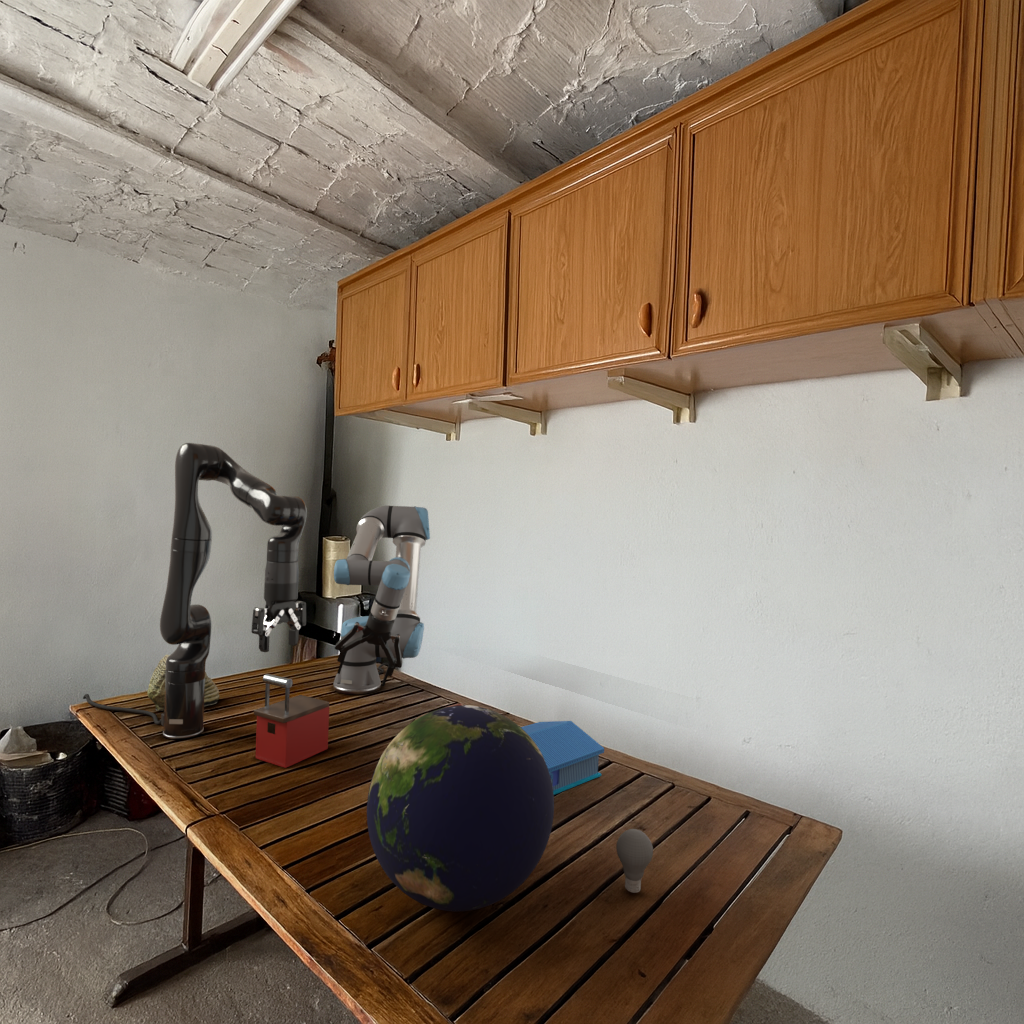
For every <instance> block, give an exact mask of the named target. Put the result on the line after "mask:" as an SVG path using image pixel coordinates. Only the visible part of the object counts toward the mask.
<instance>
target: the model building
mask: <svg viewBox="0 0 1024 1024" xmlns="http://www.w3.org/2000/svg"><path fill="white" fill-rule="evenodd" d="M520 727H521V728H522V729H523V730H524V731H525V732H526V733H527V734H528V735H529V736H530V737H531V739H532V740H533V741H534V742H535V744H536V745H537V747H538V748H539V750H540V752H541V753H542V755H543V757H544V760H545V763H546V765H547V767H548V770H549V774H550V777H551V782H552V786H553V794H554V796H555V795H557V794H560V793H562V792H565V791H568V790H569V789H572V788H575V787H578V786H580V785H582V784H584V783H588V782H589V781H591V780H594V779H597V778H600V777H602V773H601V772H599V760H600V758H599V757H600V755H602V754H604V753H605V748H604V746H602V745H601V744H600V743H599V742H597V740H595V739H594V738H593V737H591V735H589V734H588V733H586V732H585V731H584V730H583V729H582V728H580V727H579V726H578V725H576V724H575V722H573V721H572V720H554V721H552V720H551V721H537V722H534V723H531V724H528V725H527V724H526V725H523V726H520Z"/></svg>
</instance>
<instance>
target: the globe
mask: <svg viewBox="0 0 1024 1024" xmlns="http://www.w3.org/2000/svg"><path fill="white" fill-rule="evenodd" d="M450 706H451V705H450ZM426 713H427V714H426ZM426 713H424V714H425V715H423V714H422V715H423V716H421V715H420V716H421V717H419V716H418V717H419V718H418V719H416V718H415V719H416V720H413V721H411V722H409V724H407V725H406V726H405V727H404V728H402V729H401V731H399V733H398V734H396V736H395V737H394V738H393V739H392V740H391V741H390V742H389V743H388V745H387V747H385V749H384V751H382V754H381V755H380V758H379V760H378V762H377V763H376V766H375V769H374V771H373V774H372V777H371V780H370V783H369V787H368V788H369V789H368V794H367V801H366V822H367V832H368V836H369V840H370V844H371V847H372V851H373V853H374V855H375V857H376V859H377V861H378V864H379V865H380V867H381V869H382V870H383V872H384V873H385V875H386V876H387V877H388V878H389V880H390V881H391V883H393V884H394V885H395V886H396V887H397V888H398V890H400V891H401V892H402V893H404V894H405V895H406V896H408V897H409V898H410V899H412V900H413V901H415V902H417V903H419V904H421V905H424V906H426V907H428V908H429V907H430V908H431V909H436V910H439V911H445V912H455V913H456V912H471V911H475V910H479V909H483V908H486V907H489V906H491V905H494V904H496V903H499V902H500V901H502V900H503V899H505V898H506V897H508V896H509V895H511V894H512V893H514V892H515V891H516V890H517V889H518V888H519V887H520V886H522V885H523V884H524V882H526V880H527V879H528V878H529V877H530V875H532V873H533V871H534V870H535V869H536V867H537V866H538V864H539V863H540V860H541V859H542V857H543V855H544V853H545V850H546V848H547V846H548V843H549V841H550V837H551V833H552V827H553V823H554V814H555V795H554V794H553V786H552V782H551V777H550V774H549V770H548V767H547V765H546V763H545V760H544V757H543V755H542V753H541V752H540V750H539V748H538V747H537V745H536V744H535V742H534V741H533V740H532V739H531V737H530V736H529V735H528V734H527V733H526V732H525V731H524V730H523V729H522V728H521V727H522V726H520V725H518V723H516V722H514V721H513V720H512V719H510V718H508V717H507V716H505V715H503V714H501V713H499V712H497V711H494V710H493V709H489V708H485V707H482V706H477V705H469V704H468V705H467V704H465V705H464V706H451V707H447V706H445V708H444V707H442V708H438V709H435V710H432V711H429V712H426Z"/></svg>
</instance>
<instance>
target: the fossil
mask: <svg viewBox="0 0 1024 1024" xmlns="http://www.w3.org/2000/svg"><path fill="white" fill-rule="evenodd" d="M170 655H171V654H165V655H164V656H163V657H162V658H161V659H160V660H159V662H158V663H157V666H156V667H155V669H154V670H153V672H152V675H151V677H150V680H149V684H148V688H147V697H148V699H149V700H150V701H152V703H153V704H154V706H155V711H158V712H159V711H162V712H163V711H164V705H165V674H166V660H167V658H168V657H169V656H170ZM220 698H221V696H220V690H219V688H218V686H217V685H216V683H215V682H214V681H213V679H212V678H211V677H209V675H208V674H207V672H206V671H205V693H204V707H207V706H213V705H215V704H217V703H218V701H219V699H220Z"/></svg>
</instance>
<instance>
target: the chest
mask: <svg viewBox="0 0 1024 1024" xmlns="http://www.w3.org/2000/svg"><path fill="white" fill-rule="evenodd" d="M329 729H330V706H329V707H326V708H323V709H321V710H318V711H315V712H313V713H310V714H307V715H305V716H302V717H299V718H297V719H294V720H291V721H288V722H286V723H281V722H278V721H274V720H271V719H267V718H264V717H260V716H257V715H256V731H255V732H256V734H255V760H256V759H257V760H260V761H263V762H265V763H268V764H272V765H275V766H277V767H281V768H284V769H287V768H289V767H291V766H293V765H295V764H298V763H300V762H302V761H304V760H306V759H309V758H311V757H313V756H315V755H317V754H319V753H320V754H321V753H322V752H324V751H326V750H328V749H329Z"/></svg>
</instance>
